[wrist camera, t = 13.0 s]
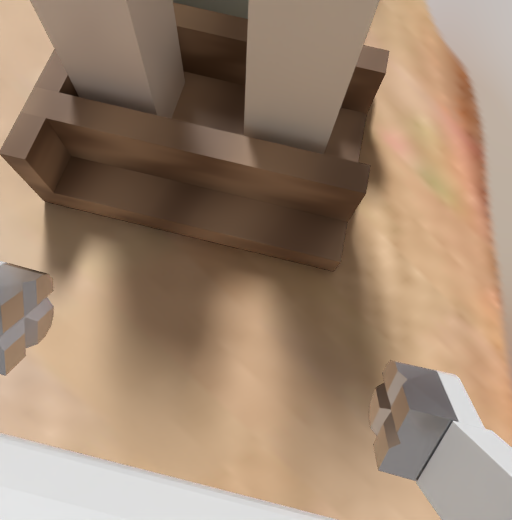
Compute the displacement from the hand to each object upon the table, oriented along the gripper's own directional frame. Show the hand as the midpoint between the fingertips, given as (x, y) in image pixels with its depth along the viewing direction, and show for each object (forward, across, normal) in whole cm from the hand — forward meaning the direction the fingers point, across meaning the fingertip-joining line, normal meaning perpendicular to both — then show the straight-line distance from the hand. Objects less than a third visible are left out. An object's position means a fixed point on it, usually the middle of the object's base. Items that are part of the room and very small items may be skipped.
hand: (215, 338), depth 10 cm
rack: (+16, +4, -2) cm, 17 cm away
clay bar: (+15, 0, -3) cm, 15 cm away
